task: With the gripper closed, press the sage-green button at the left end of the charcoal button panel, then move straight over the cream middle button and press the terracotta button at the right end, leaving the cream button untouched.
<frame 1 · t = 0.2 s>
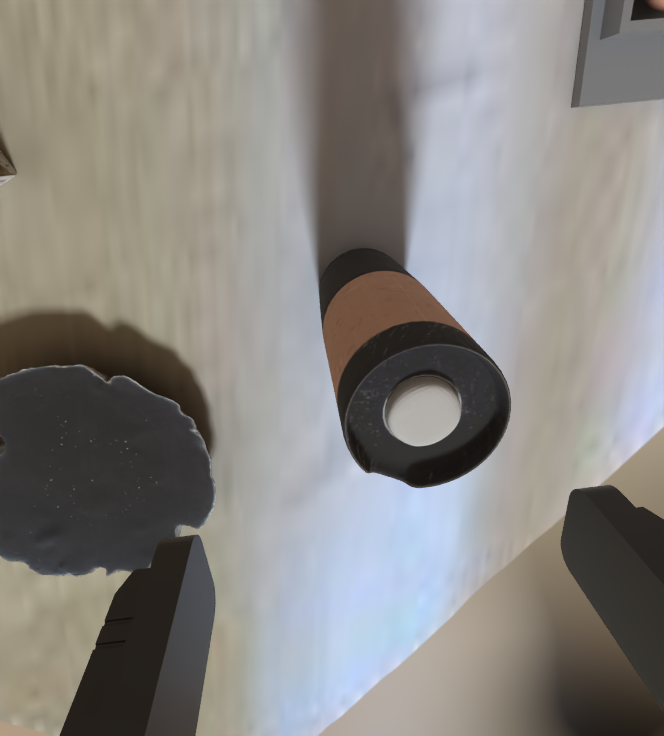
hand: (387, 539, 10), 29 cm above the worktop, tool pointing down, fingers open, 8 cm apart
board: (105, 452, 43), on the worktop
travel mug: (361, 290, 38), on the worktop
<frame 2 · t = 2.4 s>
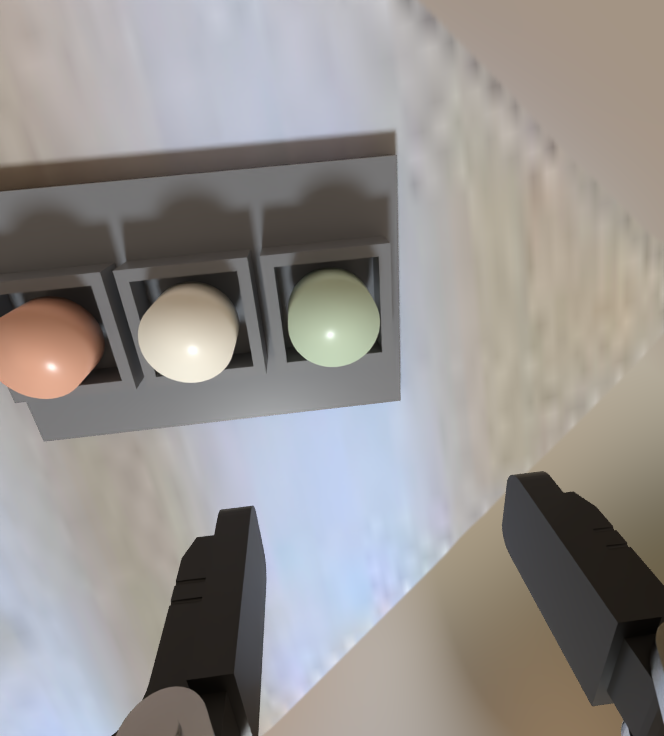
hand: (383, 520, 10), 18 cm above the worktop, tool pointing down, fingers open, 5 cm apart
button panel: (204, 307, 26), on the worktop
terracotta button: (47, 347, 22), point 4 cm above the worktop, slide at 0.0 cm
cream button: (191, 331, 22), point 4 cm above the worktop, slide at 0.0 cm
sage button: (332, 316, 23), point 4 cm above the worktop, slide at 0.0 cm
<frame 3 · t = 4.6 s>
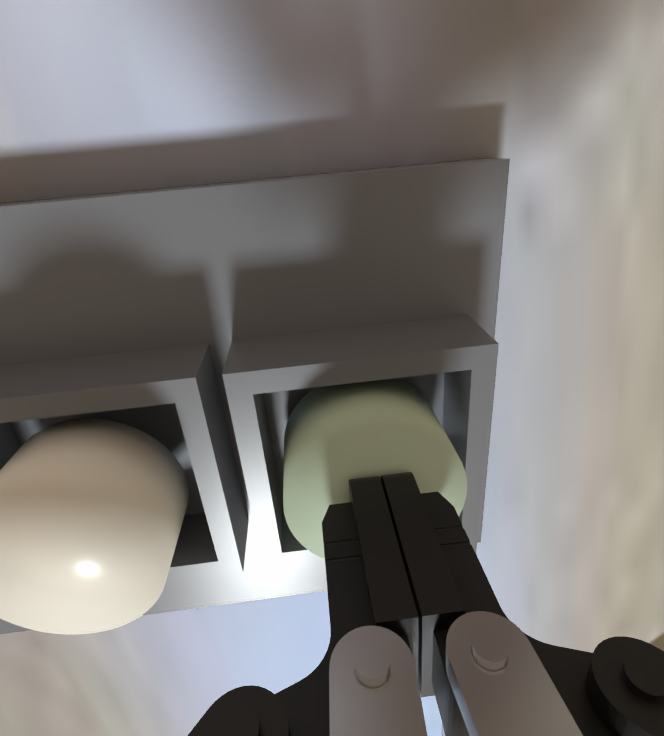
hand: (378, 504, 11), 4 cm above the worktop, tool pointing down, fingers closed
button panel: (132, 435, 14), on the worktop
cream button: (84, 524, 11), point 4 cm above the worktop, slide at 0.0 cm
sage button: (368, 467, 12), point 3 cm above the worktop, slide at 0.8 cm, touching gripper
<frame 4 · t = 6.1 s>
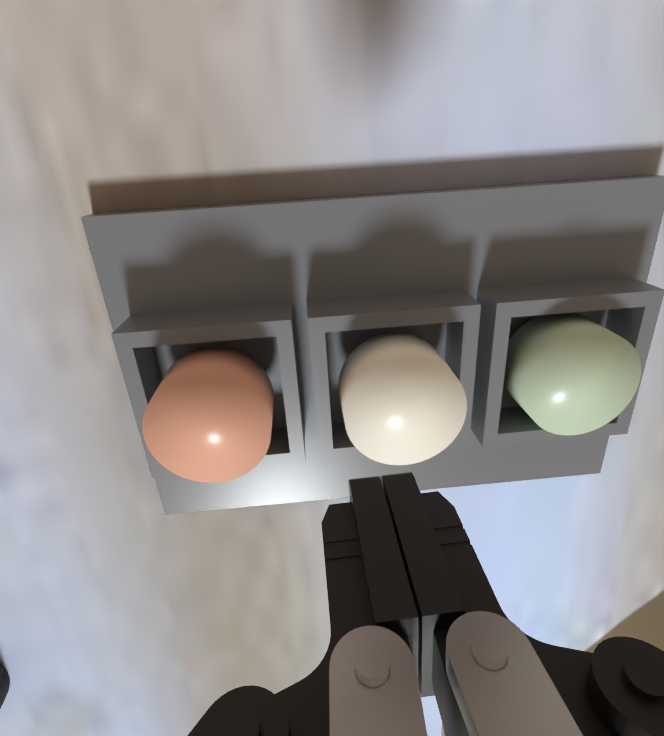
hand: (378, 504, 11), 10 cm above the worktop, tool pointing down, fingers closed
button panel: (381, 358, 21), on the worktop
terracotta button: (213, 414, 17), point 4 cm above the worktop, slide at 0.0 cm
cream button: (398, 397, 17), point 4 cm above the worktop, slide at 0.0 cm
sage button: (565, 372, 18), point 3 cm above the worktop, slide at 0.9 cm
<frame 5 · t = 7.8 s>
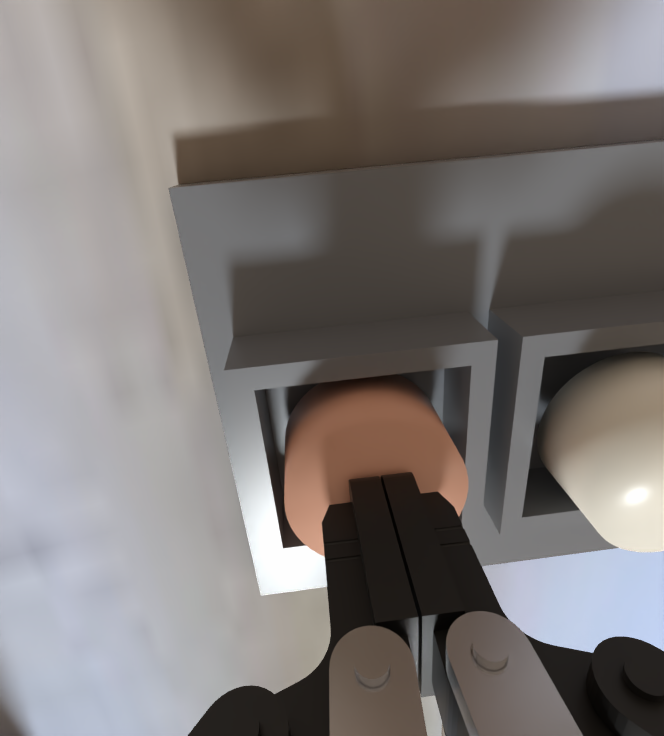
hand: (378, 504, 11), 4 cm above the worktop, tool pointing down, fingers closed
button panel: (565, 381, 15), on the worktop
terracotta button: (369, 465, 12), point 3 cm above the worktop, slide at 0.7 cm, touching gripper
cream button: (646, 450, 11), point 4 cm above the worktop, slide at 0.0 cm
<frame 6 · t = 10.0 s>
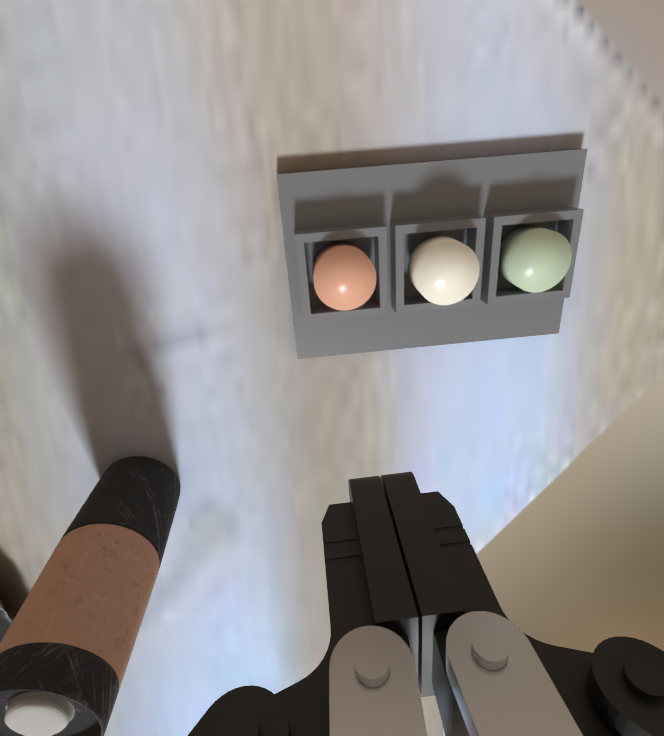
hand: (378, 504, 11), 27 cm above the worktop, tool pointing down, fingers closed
button panel: (428, 259, 35), on the worktop
terracotta button: (343, 275, 33), point 3 cm above the worktop, slide at 0.9 cm
cream button: (442, 270, 32), point 4 cm above the worktop, slide at 0.0 cm
travel mug: (142, 485, 43), on the worktop
sage button: (532, 258, 33), point 3 cm above the worktop, slide at 0.9 cm
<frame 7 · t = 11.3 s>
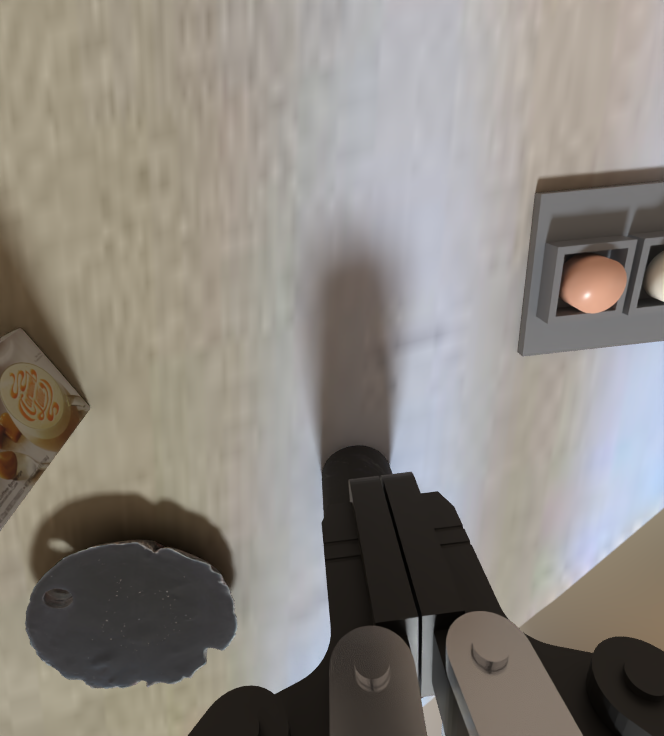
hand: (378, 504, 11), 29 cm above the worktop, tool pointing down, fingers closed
button panel: (647, 266, 40), on the worktop
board: (146, 585, 52), on the worktop
terracotta button: (589, 282, 37), point 3 cm above the worktop, slide at 0.9 cm
travel mug: (355, 472, 47), on the worktop
coffee box: (32, 383, 40), on the worktop
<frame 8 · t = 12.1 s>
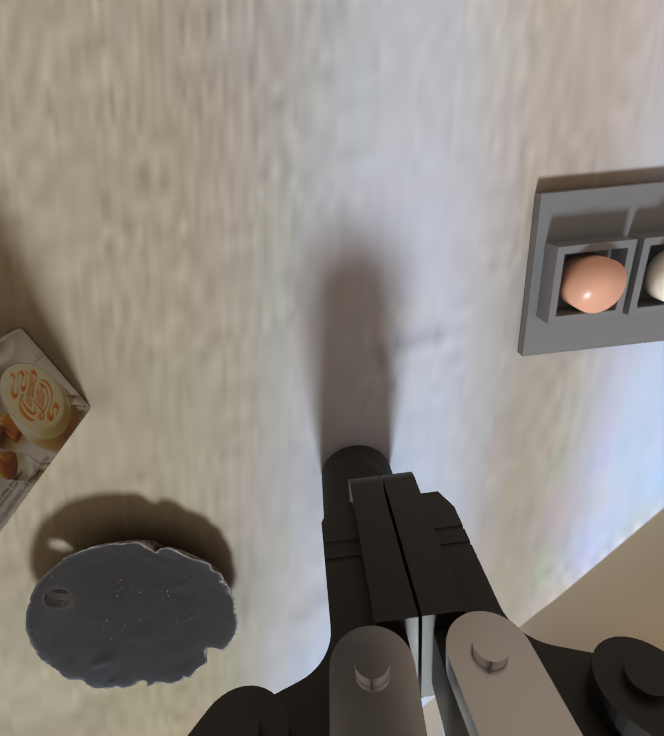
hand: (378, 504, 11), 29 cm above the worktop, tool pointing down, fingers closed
button panel: (647, 265, 40), on the worktop
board: (147, 585, 52), on the worktop
terracotta button: (589, 282, 37), point 3 cm above the worktop, slide at 0.9 cm
travel mug: (355, 471, 47), on the worktop
coffee box: (32, 383, 40), on the worktop
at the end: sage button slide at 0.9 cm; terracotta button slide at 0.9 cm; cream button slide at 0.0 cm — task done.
